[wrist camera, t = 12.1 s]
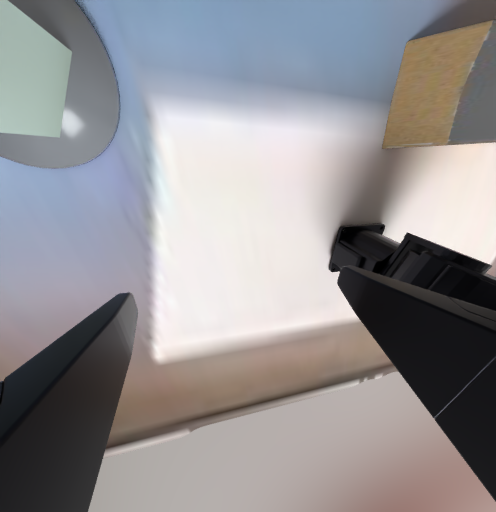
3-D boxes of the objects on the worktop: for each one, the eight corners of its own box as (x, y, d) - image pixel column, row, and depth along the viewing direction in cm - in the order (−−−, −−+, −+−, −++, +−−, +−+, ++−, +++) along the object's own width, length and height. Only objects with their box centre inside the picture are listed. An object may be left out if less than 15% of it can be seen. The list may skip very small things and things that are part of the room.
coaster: (88, -45, 11) (83, -54, 10) (136, 168, 16) (134, 169, 16) (-201, -108, 9) (-226, -124, 8) (-35, 167, 14) (-43, 168, 13)
